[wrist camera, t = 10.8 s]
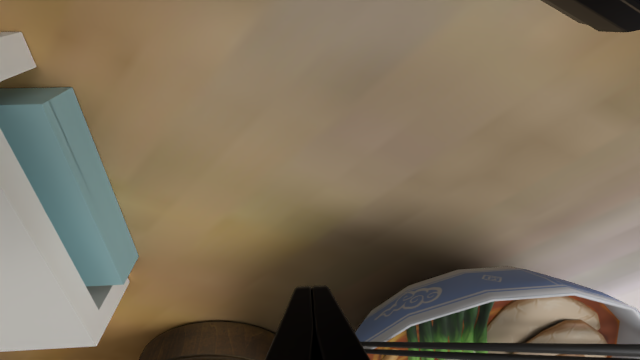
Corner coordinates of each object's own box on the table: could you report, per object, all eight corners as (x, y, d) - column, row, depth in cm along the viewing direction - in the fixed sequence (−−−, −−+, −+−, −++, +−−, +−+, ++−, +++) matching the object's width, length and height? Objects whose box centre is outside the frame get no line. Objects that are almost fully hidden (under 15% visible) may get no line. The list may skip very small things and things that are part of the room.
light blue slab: (72, 87, 17) (41, 104, 15) (138, 256, 24) (123, 284, 22) (-140, 90, 17) (-202, 108, 14) (-12, 262, 23) (-42, 292, 21)
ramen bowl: (283, 375, 34) (281, 481, 27) (328, 186, 22) (345, 289, 15) (508, 381, 37) (557, 475, 30) (651, 224, 25) (783, 319, 19)
